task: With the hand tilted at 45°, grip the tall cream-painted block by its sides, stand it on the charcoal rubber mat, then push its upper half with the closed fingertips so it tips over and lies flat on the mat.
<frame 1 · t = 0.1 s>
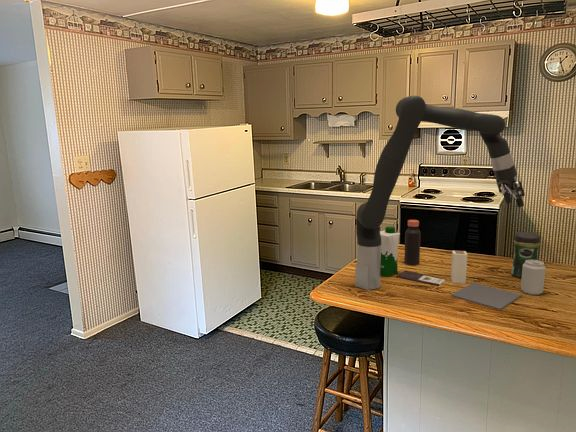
hand: (514, 204, 170), 31 cm above the table, tool tilted 20°, fingers open, 8 cm apart
can: (531, 292, 165), on the table
rubber mat: (485, 296, 162), on the table
chocolate bar: (420, 280, 182), on the table
coffee jar: (523, 276, 183), on the table
bottle: (411, 263, 202), on the table
milk carton: (385, 273, 189), on the table
cream block: (457, 281, 178), on the table
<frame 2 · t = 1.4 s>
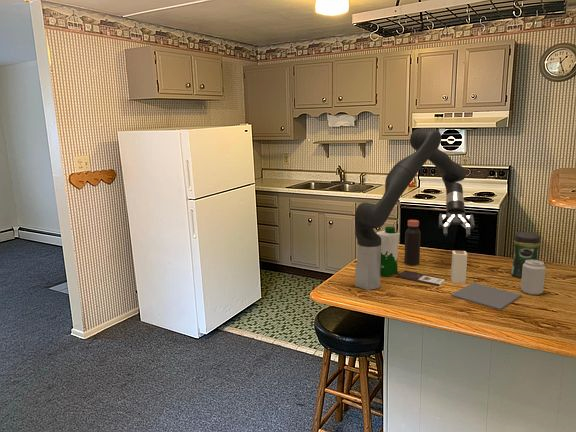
hand: (457, 235, 186), 16 cm above the table, tool tilted 45°, fingers open, 8 cm apart
nothing on the table moved.
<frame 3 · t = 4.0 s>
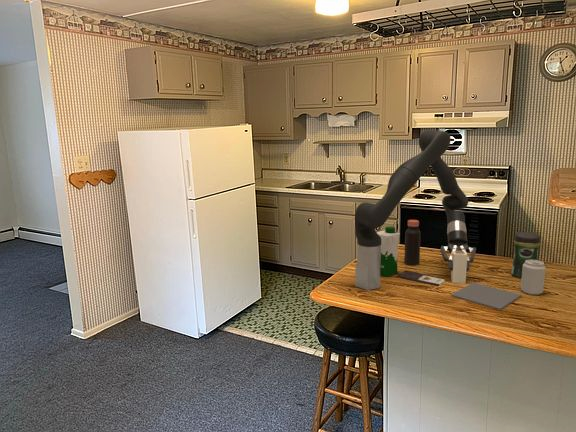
hand: (459, 270, 175), 5 cm above the table, tool tilted 45°, fingers closed on cream block, 5 cm apart
cream block: (458, 280, 178), on the table, touching gripper
everything else where it was.
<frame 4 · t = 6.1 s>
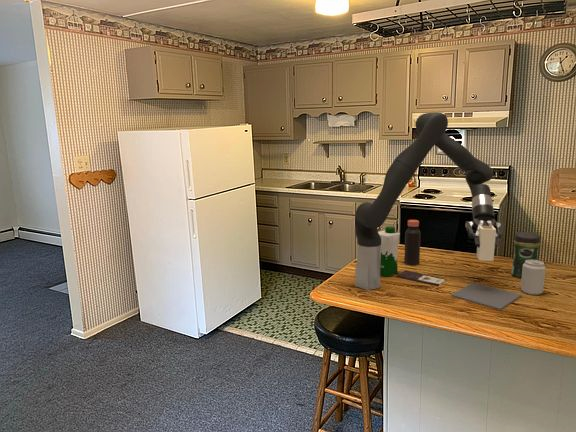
hand: (486, 246, 162), 18 cm above the table, tool tilted 45°, fingers closed on cream block, 5 cm apart
cream block: (484, 258, 164), point 13 cm above the table, touching gripper
everything else where it was.
when the fingers open (7 cm above the table, at t = 8.5 s): cream block drops 1 cm, resting on rubber mat.
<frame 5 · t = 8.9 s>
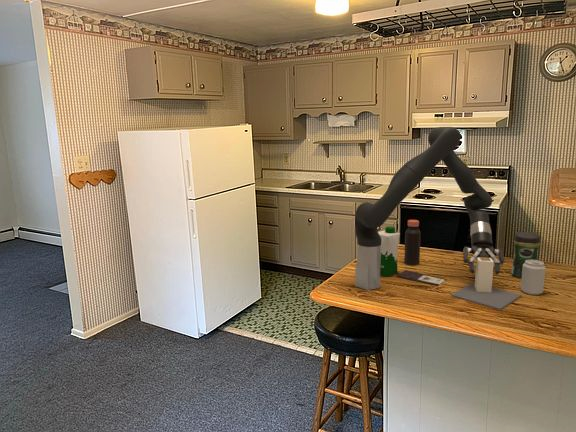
hand: (484, 273, 164), 8 cm above the table, tool tilted 45°, fingers open, 8 cm apart
cream block: (482, 289, 167), point 1 cm above the table, touching rubber mat
everything else where it was.
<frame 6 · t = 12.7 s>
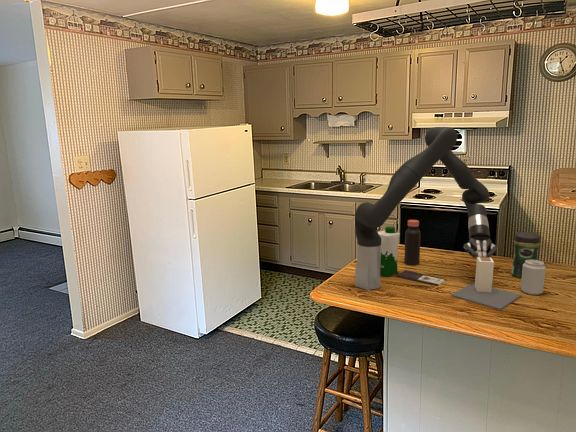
hand: (482, 266, 168), 9 cm above the table, tool tilted 45°, fingers closed
cream block: (482, 289, 167), point 1 cm above the table, touching gripper, rubber mat
everything else where it was.
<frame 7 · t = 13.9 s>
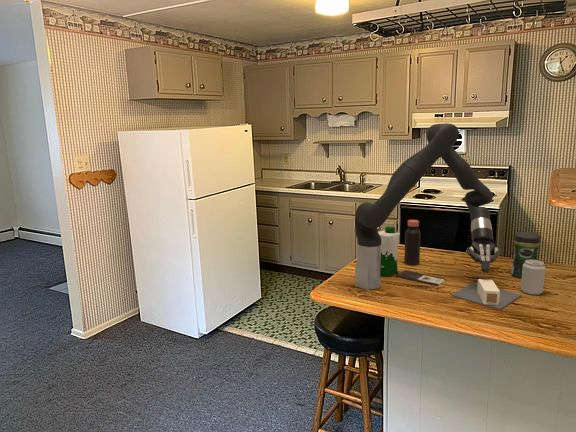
hand: (485, 271, 162), 9 cm above the table, tool tilted 45°, fingers closed
cream block: (484, 285, 164), point 3 cm above the table, tilted 90°, touching rubber mat
everything else where it was.
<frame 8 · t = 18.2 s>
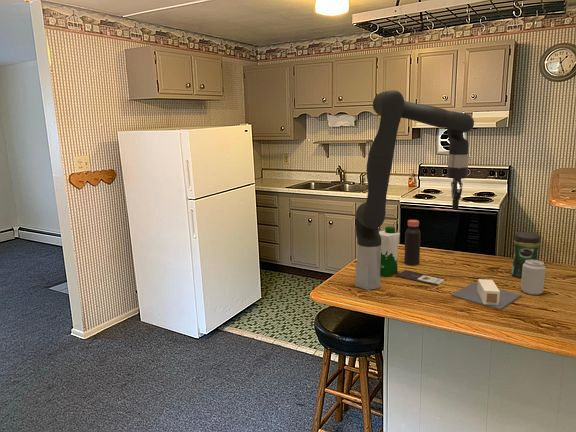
hand: (455, 208, 176), 29 cm above the table, tool pointing down, fingers closed
nothing on the table moved.
at the end: cream block tilted 90°; cream block inside the target area (2.6 cm from its centre), point 3.1 cm above the table; the gripper is holding nothing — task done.
